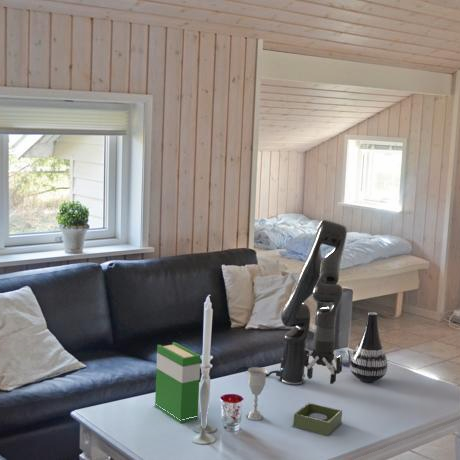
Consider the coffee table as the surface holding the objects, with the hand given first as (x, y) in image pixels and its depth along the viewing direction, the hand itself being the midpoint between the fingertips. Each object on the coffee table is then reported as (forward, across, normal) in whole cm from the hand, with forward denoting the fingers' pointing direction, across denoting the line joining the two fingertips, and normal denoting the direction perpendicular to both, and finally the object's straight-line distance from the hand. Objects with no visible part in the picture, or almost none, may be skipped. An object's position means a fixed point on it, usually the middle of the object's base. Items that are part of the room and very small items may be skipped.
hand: (320, 380), depth 282 cm
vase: (+17, 0, -55) cm, 57 cm away
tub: (+16, 0, +1) cm, 16 cm away
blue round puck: (+15, -1, +1) cm, 16 cm away
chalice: (+17, +22, +8) cm, 28 cm away
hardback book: (+17, +47, +22) cm, 55 cm away
